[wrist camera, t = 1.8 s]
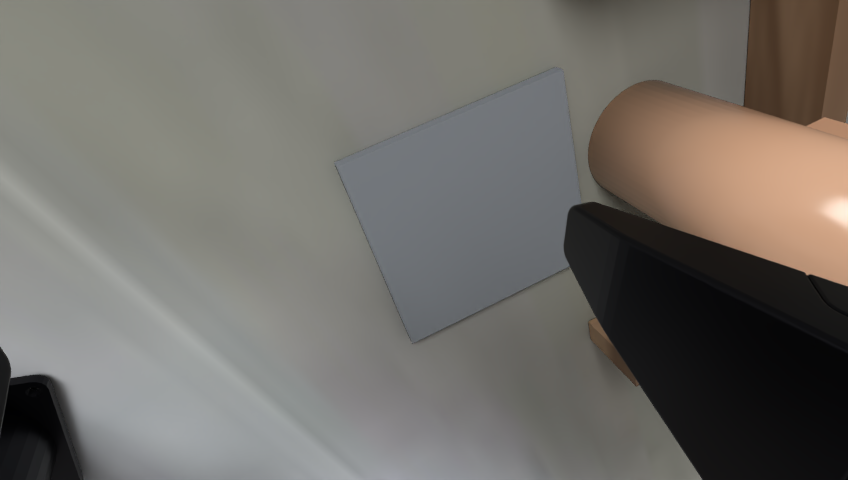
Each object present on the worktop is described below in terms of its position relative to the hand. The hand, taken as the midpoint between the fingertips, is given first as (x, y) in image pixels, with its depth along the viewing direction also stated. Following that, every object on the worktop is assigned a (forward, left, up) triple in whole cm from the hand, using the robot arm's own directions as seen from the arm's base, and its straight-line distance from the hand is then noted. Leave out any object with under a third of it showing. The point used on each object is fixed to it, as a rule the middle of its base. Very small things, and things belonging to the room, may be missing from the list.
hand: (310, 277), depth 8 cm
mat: (-6, -9, -12) cm, 16 cm away
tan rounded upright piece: (-2, -19, -12) cm, 22 cm away
